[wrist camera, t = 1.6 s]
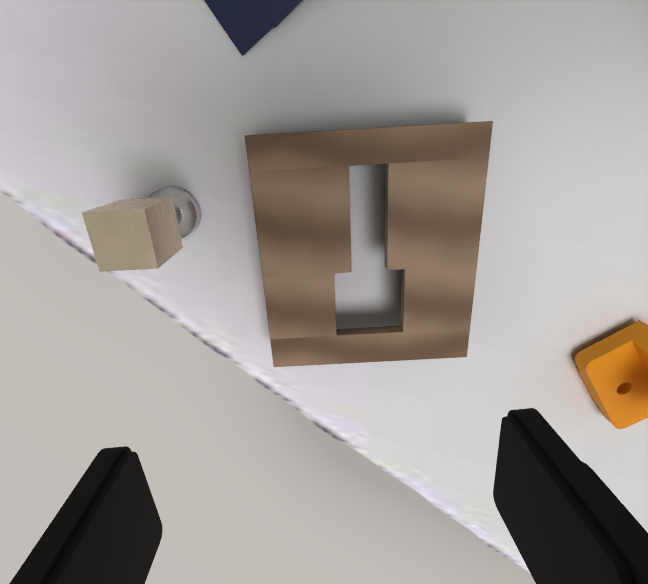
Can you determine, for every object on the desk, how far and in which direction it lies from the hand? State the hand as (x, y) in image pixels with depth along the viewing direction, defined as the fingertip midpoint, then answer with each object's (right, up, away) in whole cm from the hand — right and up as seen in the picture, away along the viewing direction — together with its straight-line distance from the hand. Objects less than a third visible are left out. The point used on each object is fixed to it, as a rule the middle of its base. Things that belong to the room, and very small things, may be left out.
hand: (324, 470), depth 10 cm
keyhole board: (+4, +9, +26) cm, 28 cm away
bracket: (+32, -4, +32) cm, 46 cm away
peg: (-14, +12, +25) cm, 31 cm away
